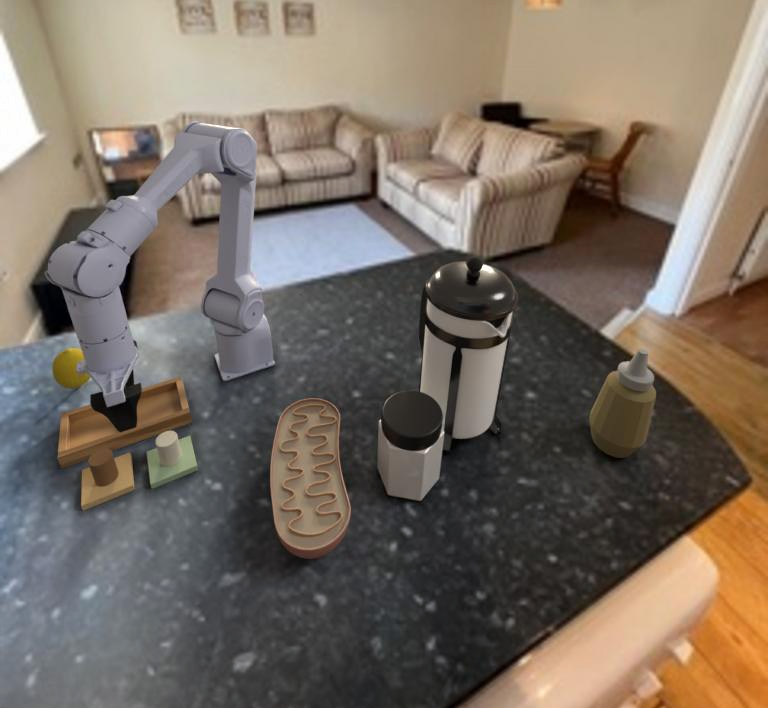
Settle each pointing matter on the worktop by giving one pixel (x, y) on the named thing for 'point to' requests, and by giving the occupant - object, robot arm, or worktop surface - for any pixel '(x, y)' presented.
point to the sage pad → (172, 471)
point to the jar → (410, 444)
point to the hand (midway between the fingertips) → (126, 408)
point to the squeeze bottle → (624, 408)
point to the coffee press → (465, 344)
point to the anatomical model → (308, 479)
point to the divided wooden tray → (95, 431)
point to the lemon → (69, 368)
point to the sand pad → (111, 490)
